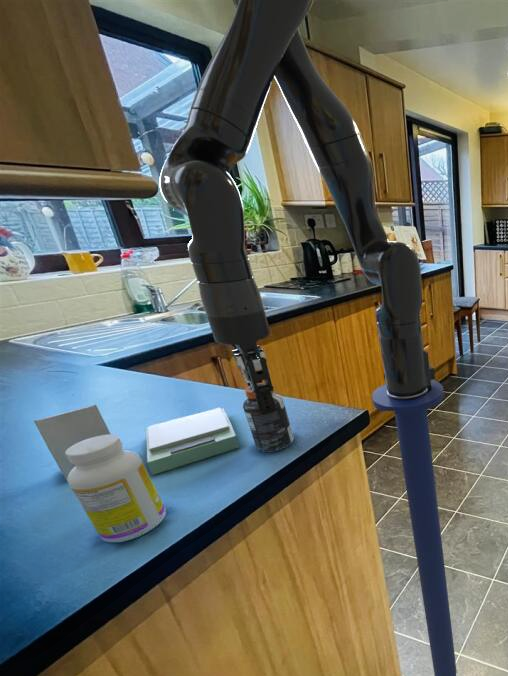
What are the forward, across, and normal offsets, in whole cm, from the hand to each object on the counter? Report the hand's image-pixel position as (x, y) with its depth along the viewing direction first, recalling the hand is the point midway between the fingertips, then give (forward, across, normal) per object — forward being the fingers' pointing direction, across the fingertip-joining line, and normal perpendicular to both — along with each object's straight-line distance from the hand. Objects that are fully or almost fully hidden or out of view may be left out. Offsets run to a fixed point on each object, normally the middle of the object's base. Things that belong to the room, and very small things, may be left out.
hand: (264, 405), depth 68 cm
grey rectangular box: (+8, +13, +24) cm, 28 cm away
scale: (+8, +10, +11) cm, 17 cm away
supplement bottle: (+8, -10, +19) cm, 23 cm away
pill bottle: (+8, 0, 0) cm, 8 cm away
